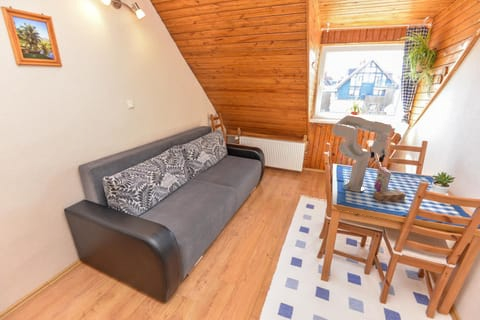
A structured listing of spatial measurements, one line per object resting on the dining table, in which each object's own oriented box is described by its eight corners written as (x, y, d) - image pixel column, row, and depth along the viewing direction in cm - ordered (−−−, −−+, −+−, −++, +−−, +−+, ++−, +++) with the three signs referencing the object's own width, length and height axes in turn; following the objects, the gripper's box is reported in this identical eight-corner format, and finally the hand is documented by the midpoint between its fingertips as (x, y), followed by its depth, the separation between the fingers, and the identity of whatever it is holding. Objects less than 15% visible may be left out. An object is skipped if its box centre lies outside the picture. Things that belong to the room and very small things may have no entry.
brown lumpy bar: (379, 202, 153) (381, 195, 151) (373, 197, 158) (374, 191, 157) (404, 200, 156) (406, 194, 155) (397, 196, 162) (398, 190, 160)
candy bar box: (373, 185, 177) (378, 166, 171) (380, 186, 176) (385, 167, 170) (379, 192, 166) (384, 172, 161) (386, 192, 165) (392, 172, 160)
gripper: (369, 136, 176) (364, 156, 182) (385, 141, 160) (379, 163, 166) (377, 136, 177) (372, 156, 183) (394, 141, 161) (388, 163, 167)
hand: (376, 159), depth 174 cm, fingers open, 9 cm apart
